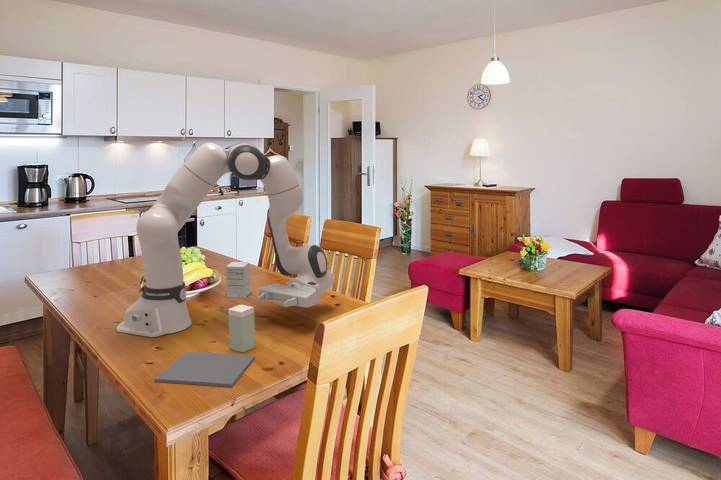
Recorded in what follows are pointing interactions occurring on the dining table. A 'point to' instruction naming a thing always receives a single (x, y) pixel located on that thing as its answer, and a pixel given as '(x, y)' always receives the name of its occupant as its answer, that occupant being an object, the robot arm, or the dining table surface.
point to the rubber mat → (206, 369)
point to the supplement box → (238, 279)
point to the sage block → (241, 328)
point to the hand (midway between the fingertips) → (271, 302)
